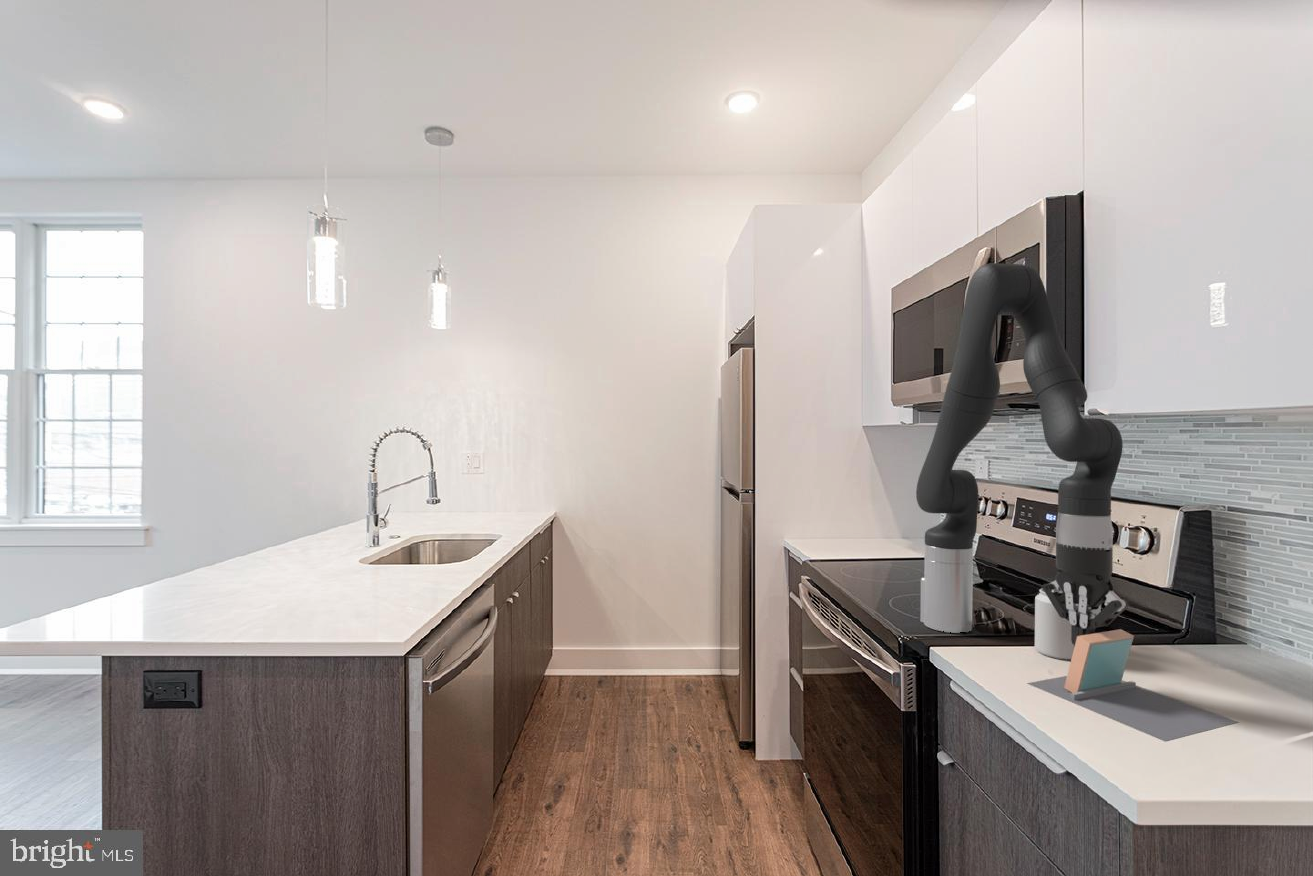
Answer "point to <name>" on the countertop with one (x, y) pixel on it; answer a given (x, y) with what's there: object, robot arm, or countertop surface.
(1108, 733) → the countertop surface
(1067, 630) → the can
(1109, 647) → the tile
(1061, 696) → the mat
